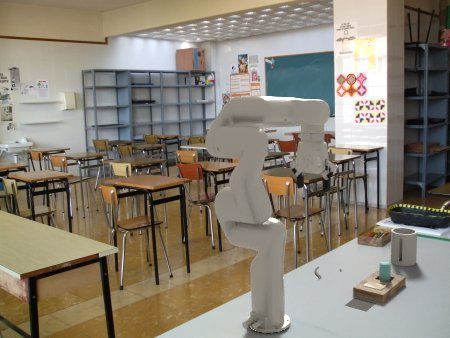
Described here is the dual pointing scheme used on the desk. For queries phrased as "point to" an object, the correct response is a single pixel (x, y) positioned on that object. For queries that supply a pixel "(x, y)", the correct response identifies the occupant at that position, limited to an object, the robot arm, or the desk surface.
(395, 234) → the cup
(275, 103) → the robot arm
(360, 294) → the wooden peg hole block
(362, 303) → the pad
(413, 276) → the desk surface
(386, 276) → the peg
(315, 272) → the pliers
